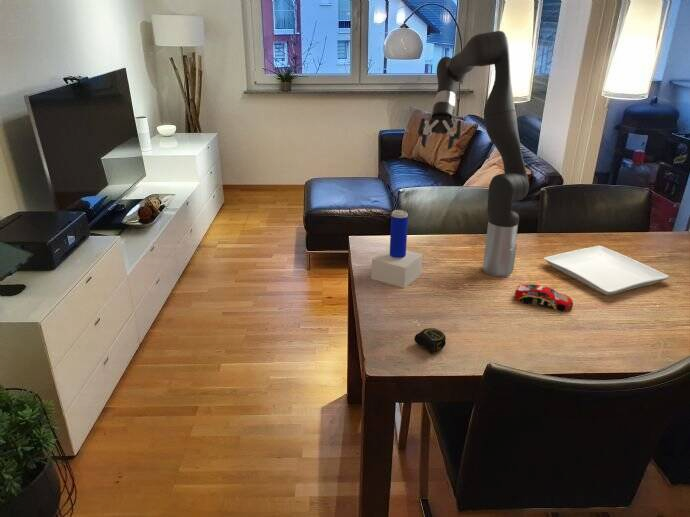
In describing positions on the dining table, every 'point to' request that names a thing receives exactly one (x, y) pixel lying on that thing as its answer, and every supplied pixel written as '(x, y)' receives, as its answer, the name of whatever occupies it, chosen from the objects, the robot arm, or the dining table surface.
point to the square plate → (605, 269)
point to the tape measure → (431, 339)
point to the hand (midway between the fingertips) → (436, 147)
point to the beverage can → (398, 234)
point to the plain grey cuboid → (396, 268)
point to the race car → (543, 297)
